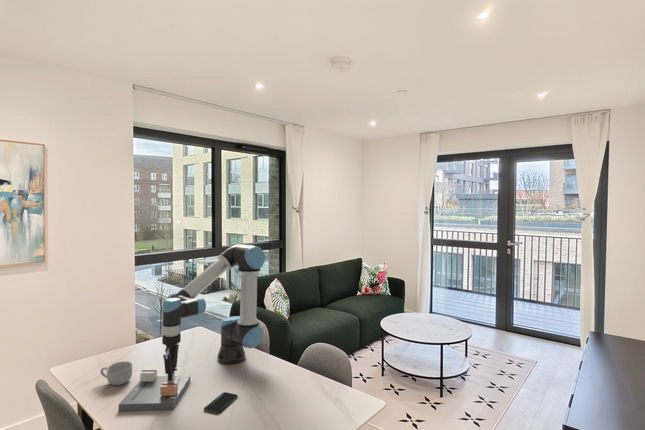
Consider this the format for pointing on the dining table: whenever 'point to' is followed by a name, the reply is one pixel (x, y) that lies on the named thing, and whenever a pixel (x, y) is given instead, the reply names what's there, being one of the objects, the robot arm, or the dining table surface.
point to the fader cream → (148, 375)
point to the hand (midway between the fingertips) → (170, 386)
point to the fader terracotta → (169, 389)
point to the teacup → (118, 373)
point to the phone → (220, 403)
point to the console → (153, 395)
